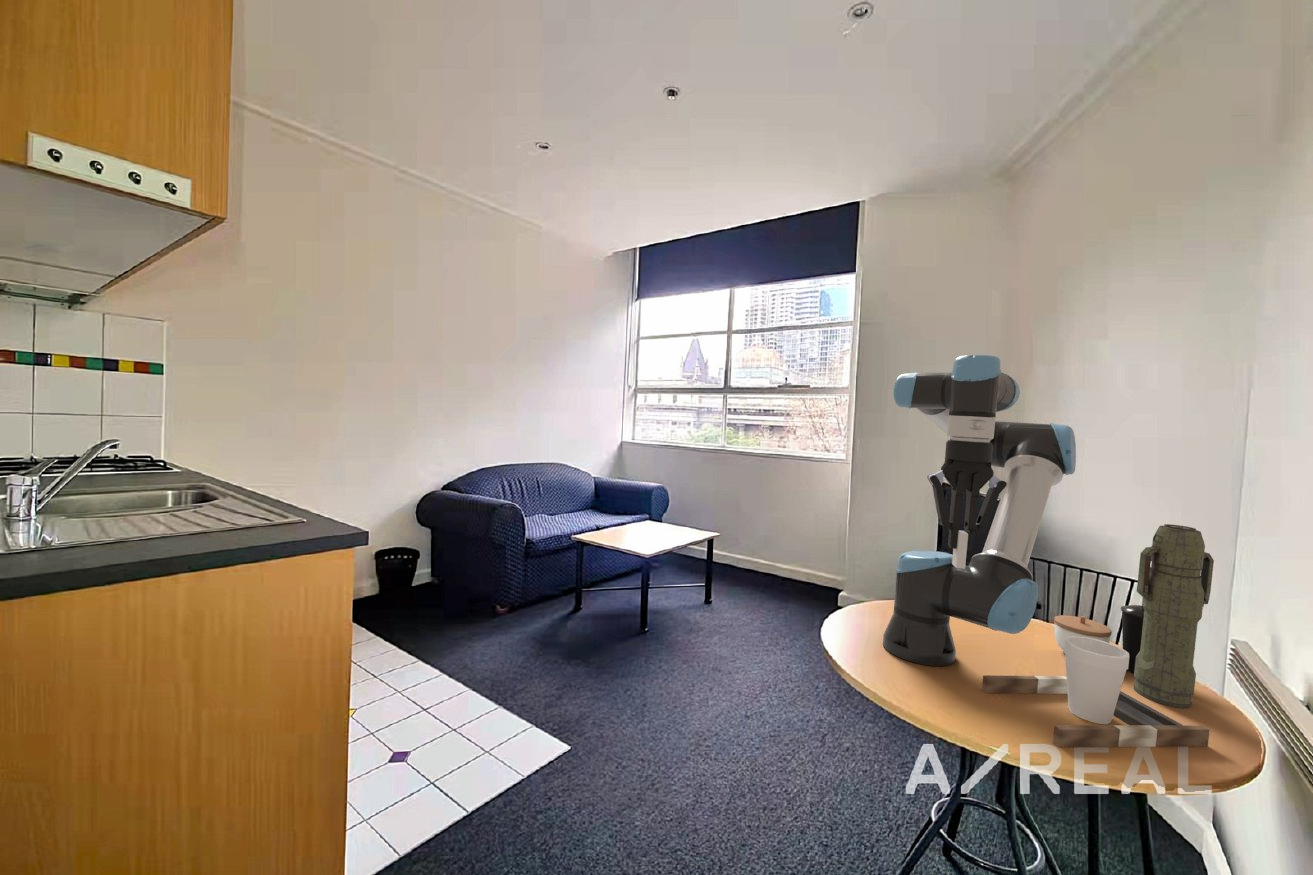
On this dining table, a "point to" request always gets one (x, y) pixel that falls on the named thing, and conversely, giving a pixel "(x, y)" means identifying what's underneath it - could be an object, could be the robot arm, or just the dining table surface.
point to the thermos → (1171, 613)
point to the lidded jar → (1079, 629)
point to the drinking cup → (1132, 632)
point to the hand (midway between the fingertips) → (958, 566)
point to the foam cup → (1094, 677)
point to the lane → (1141, 731)
